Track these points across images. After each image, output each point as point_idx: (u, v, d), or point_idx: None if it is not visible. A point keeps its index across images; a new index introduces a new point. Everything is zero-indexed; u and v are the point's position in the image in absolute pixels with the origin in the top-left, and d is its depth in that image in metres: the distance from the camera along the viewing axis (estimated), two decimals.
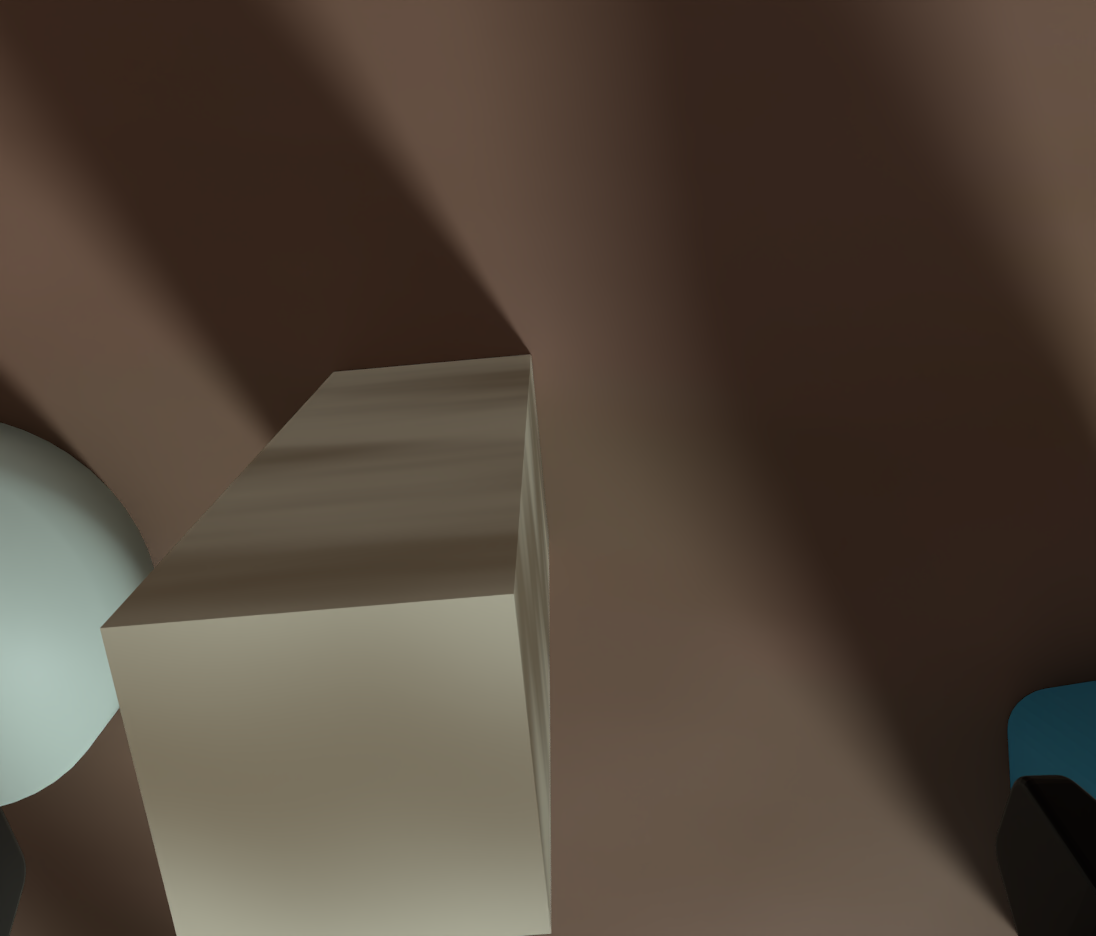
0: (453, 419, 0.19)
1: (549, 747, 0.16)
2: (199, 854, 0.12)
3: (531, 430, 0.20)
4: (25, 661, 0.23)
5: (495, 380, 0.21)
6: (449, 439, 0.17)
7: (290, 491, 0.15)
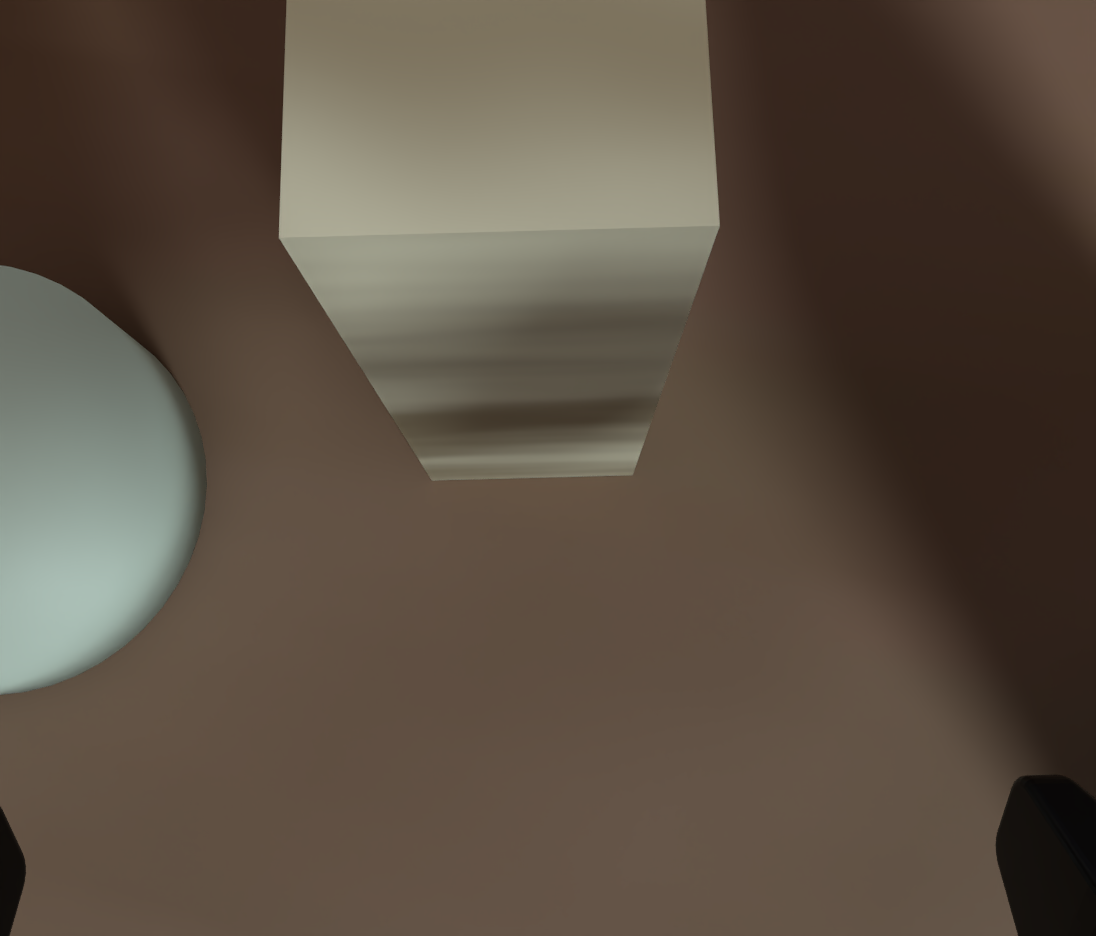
0: None
1: None
2: (330, 102, 0.11)
3: None
4: (55, 501, 0.21)
5: None
6: None
7: None
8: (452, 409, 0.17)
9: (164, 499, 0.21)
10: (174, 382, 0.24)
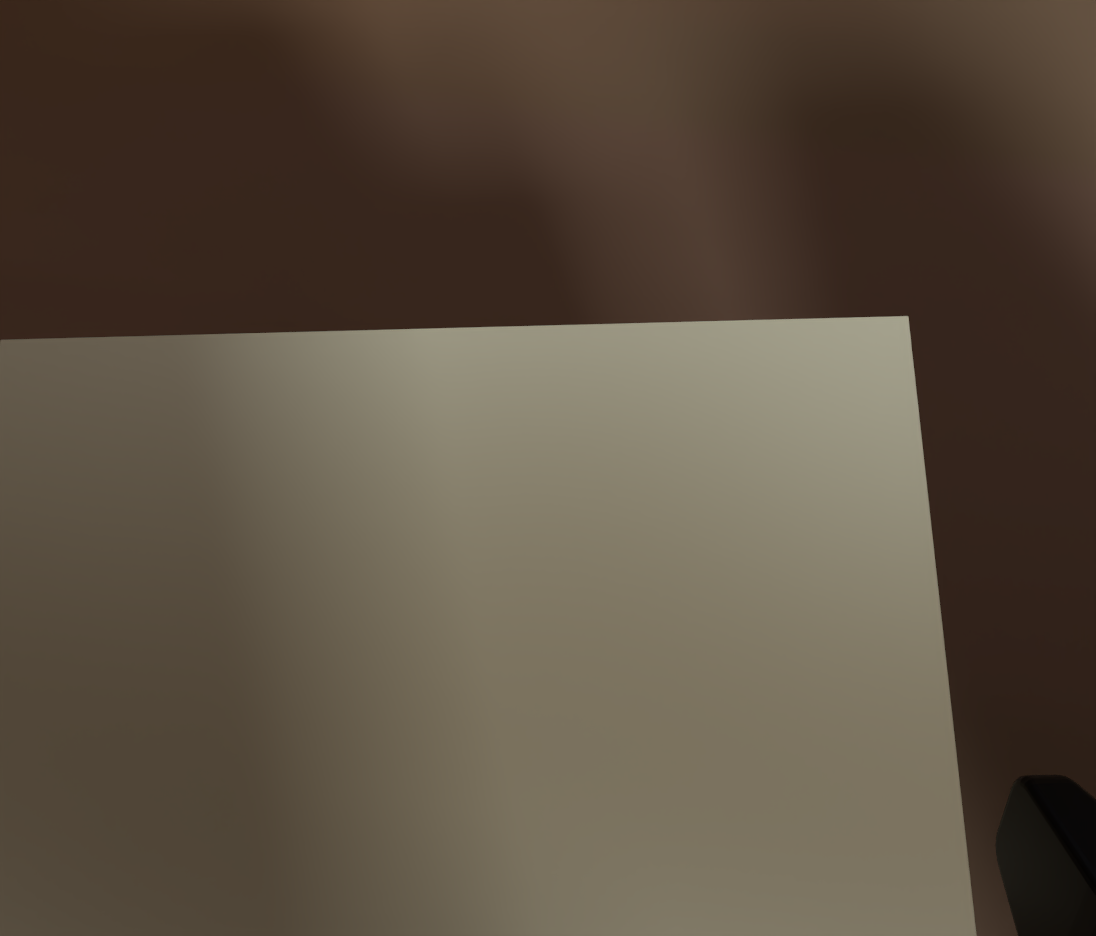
0: None
1: None
2: None
3: None
4: None
5: None
6: None
7: None
8: None
9: None
10: None
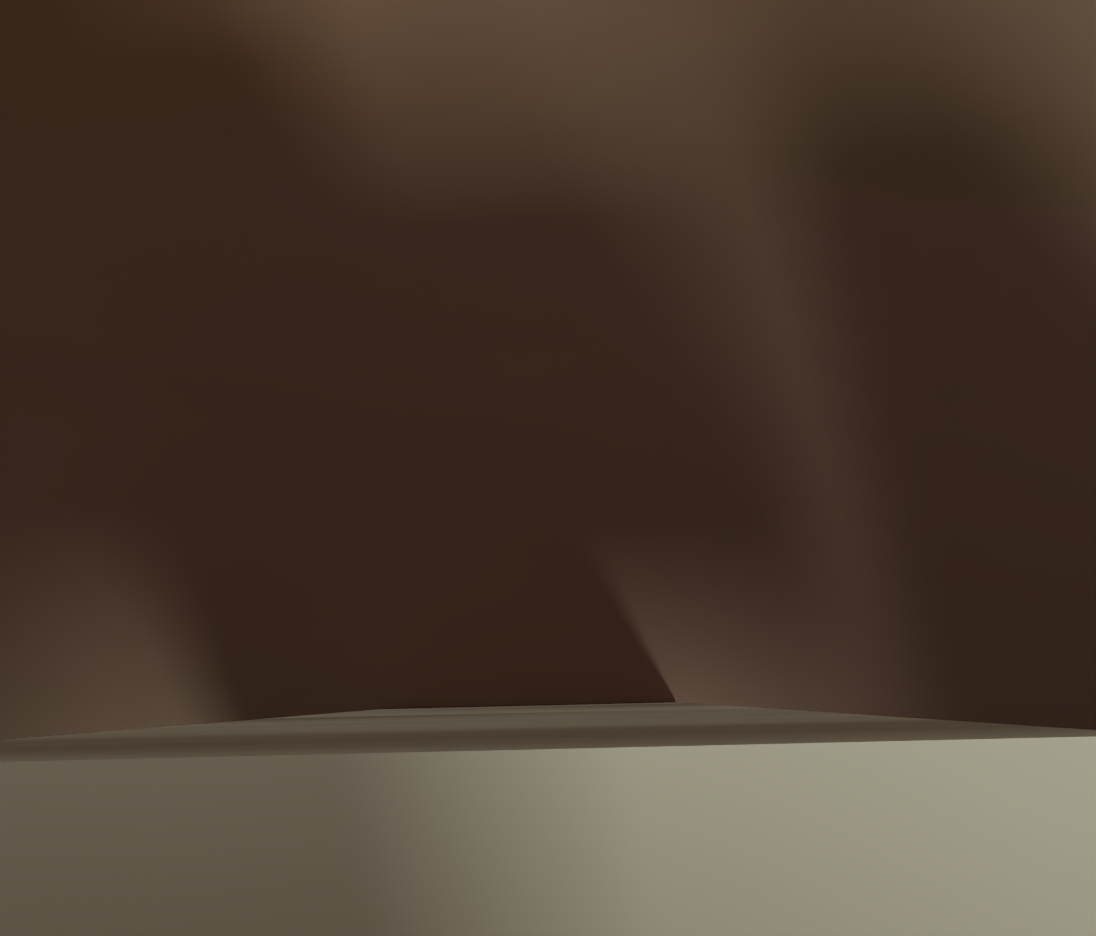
0: (604, 709, 0.11)
1: None
2: None
3: None
4: None
5: None
6: (616, 711, 0.09)
7: (319, 721, 0.07)
8: None
9: None
10: None
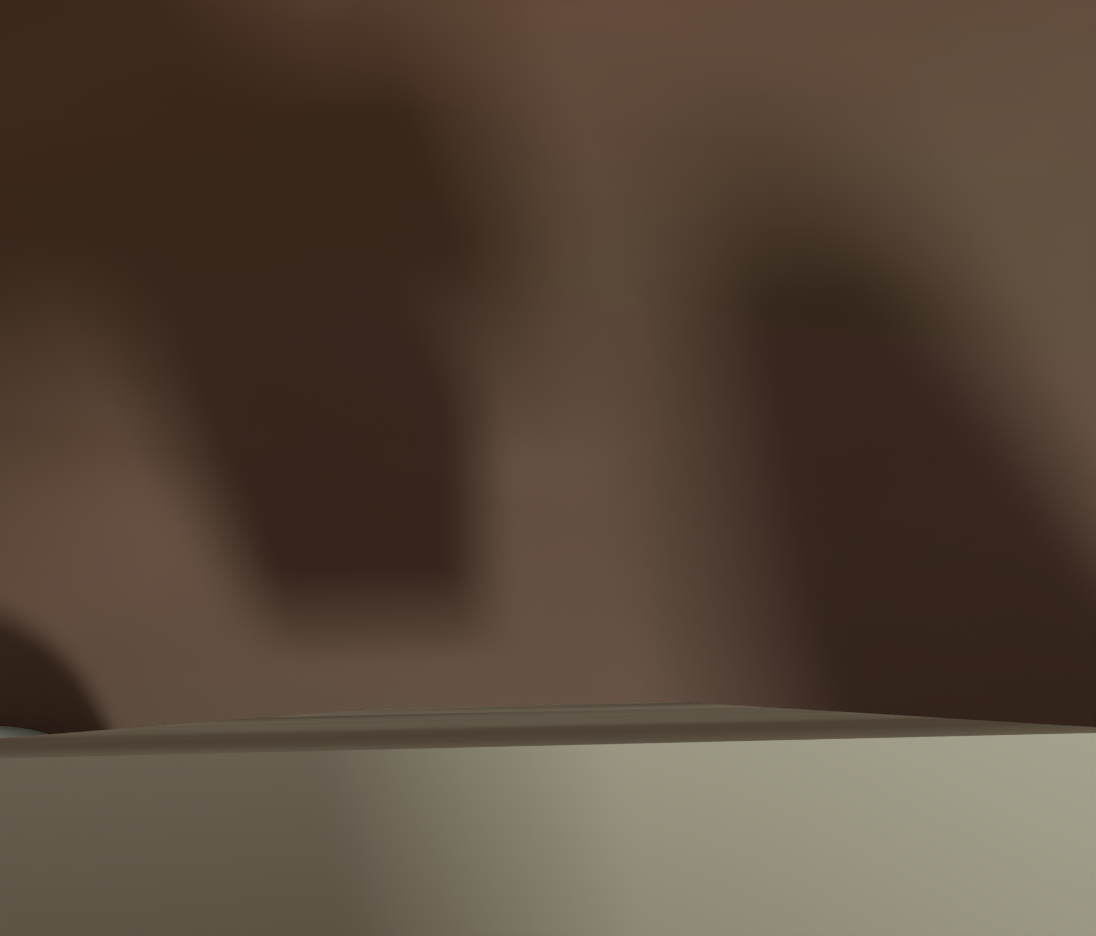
0: (604, 708, 0.11)
1: None
2: None
3: None
4: None
5: None
6: None
7: (319, 721, 0.07)
8: None
9: None
10: None
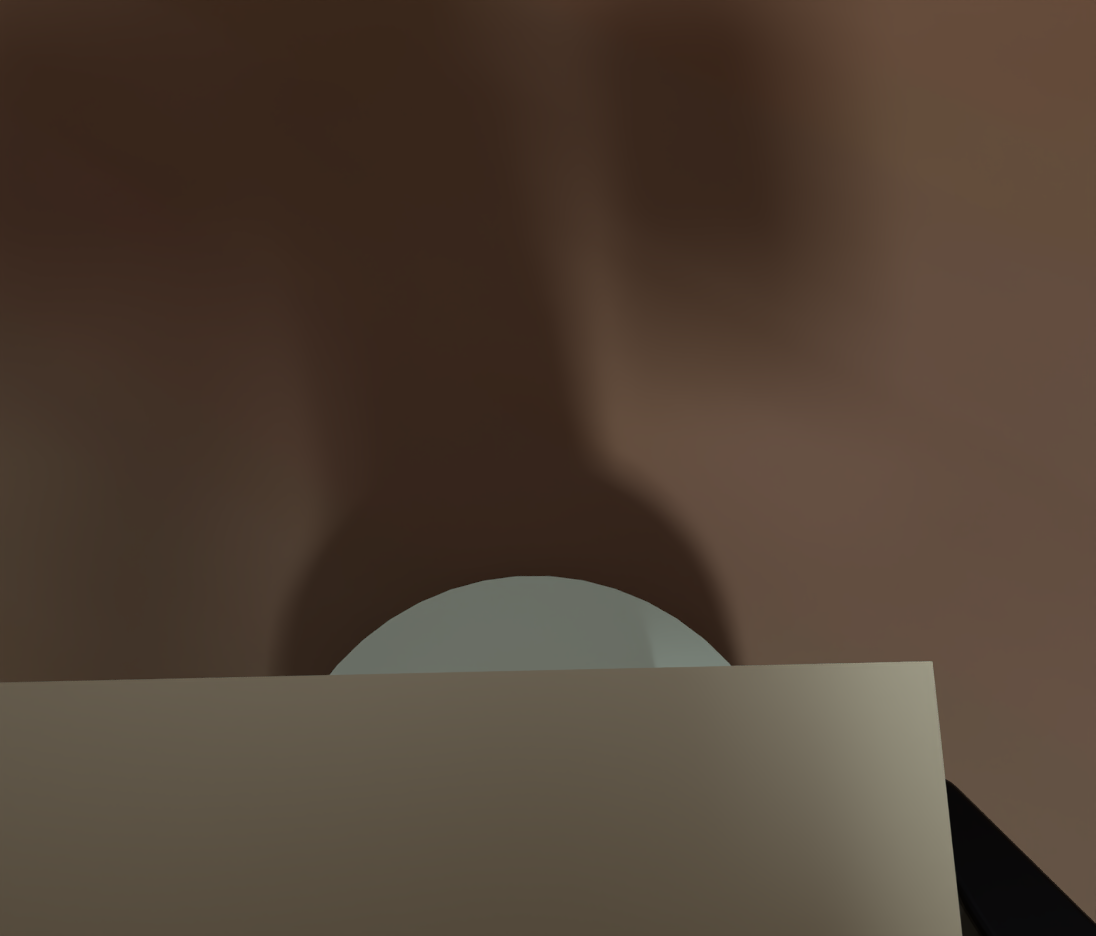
0: None
1: None
2: None
3: None
4: None
5: None
6: None
7: None
8: None
9: None
10: None
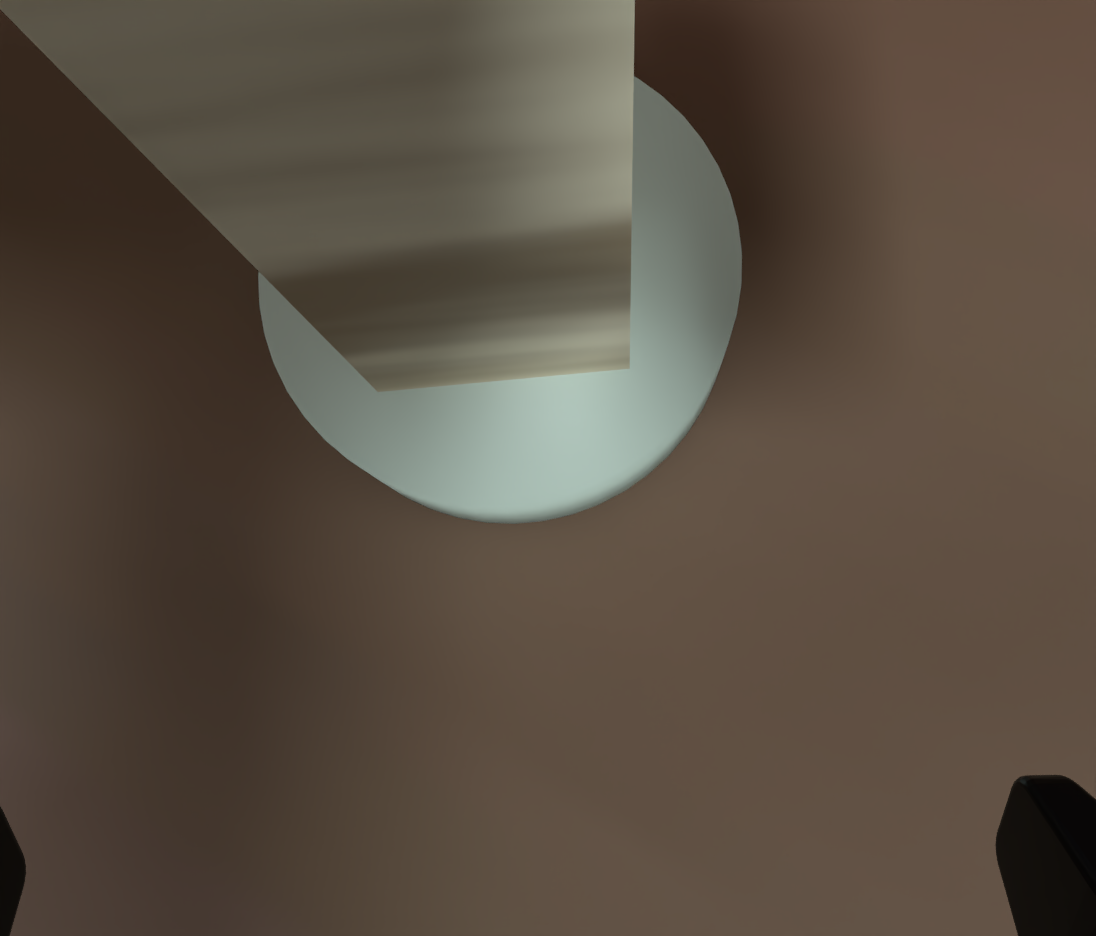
0: None
1: None
2: None
3: None
4: None
5: None
6: None
7: None
8: (348, 265, 0.13)
9: (721, 358, 0.19)
10: None
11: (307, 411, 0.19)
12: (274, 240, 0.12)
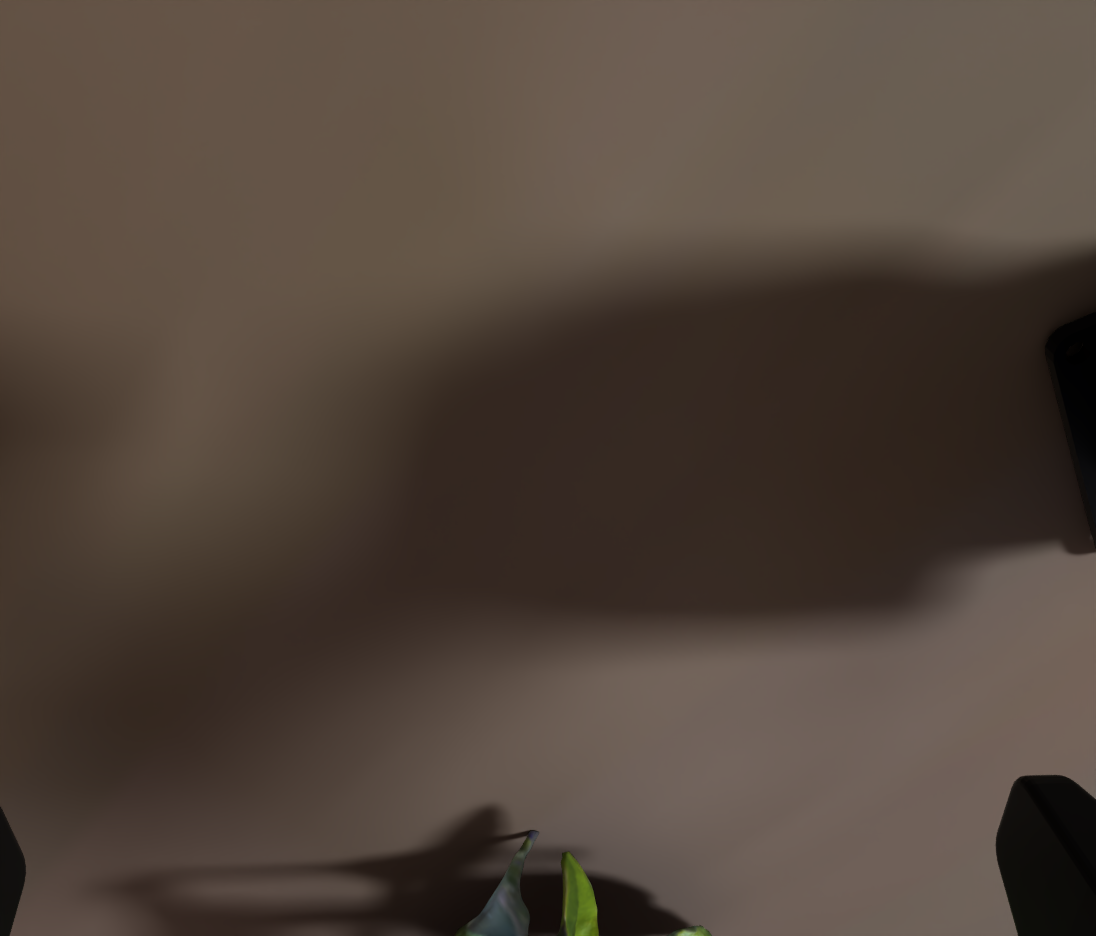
0: None
1: None
2: None
3: None
4: None
5: None
6: None
7: None
8: None
9: None
10: None
11: None
12: None
